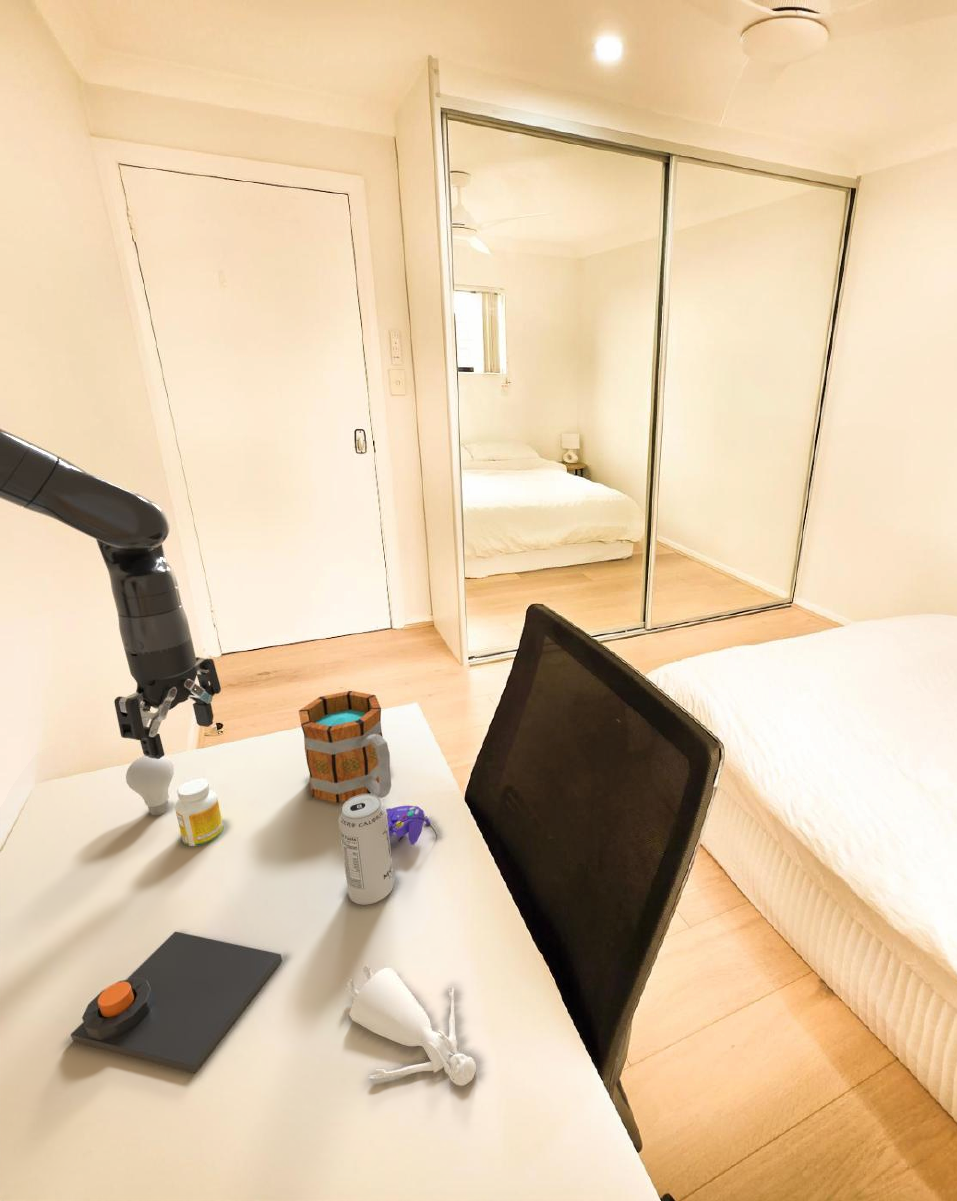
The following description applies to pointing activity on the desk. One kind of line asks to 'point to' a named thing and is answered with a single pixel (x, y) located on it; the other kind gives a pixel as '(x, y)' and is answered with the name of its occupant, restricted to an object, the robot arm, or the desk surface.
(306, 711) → the mug
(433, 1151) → the desk surface
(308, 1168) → the desk surface
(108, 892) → the desk surface
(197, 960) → the scale
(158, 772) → the lightbulb
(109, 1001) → the button
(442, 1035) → the woman figurine
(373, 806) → the energy drink can
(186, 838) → the supplement bottle
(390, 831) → the game controller
